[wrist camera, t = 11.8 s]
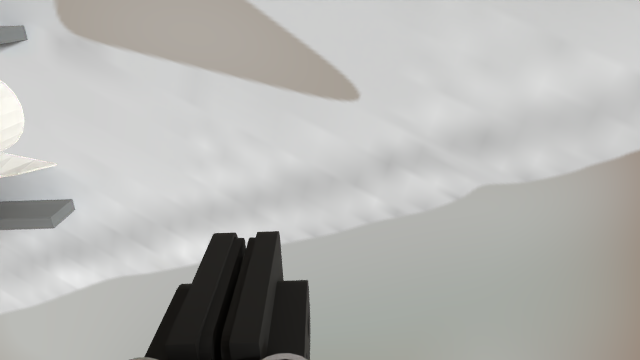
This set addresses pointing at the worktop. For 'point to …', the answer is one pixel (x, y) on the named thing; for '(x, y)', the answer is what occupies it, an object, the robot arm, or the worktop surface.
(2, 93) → the toilet paper
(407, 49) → the worktop surface
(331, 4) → the worktop surface
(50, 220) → the box
